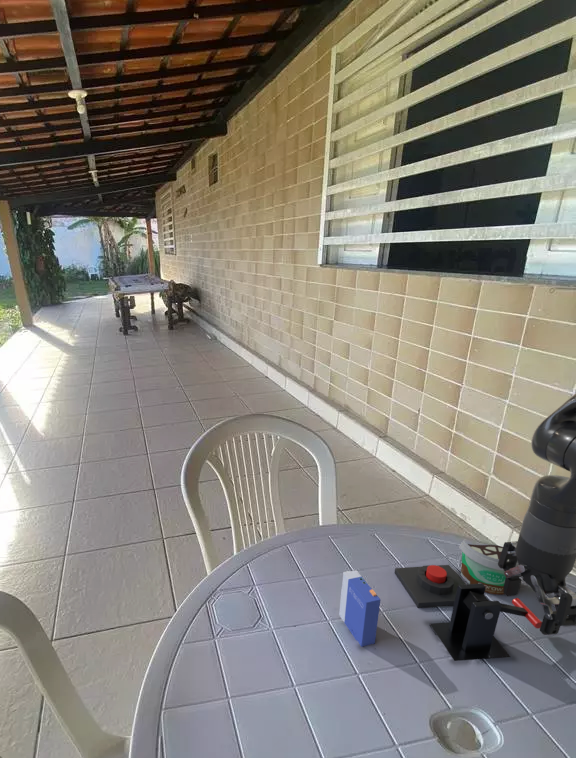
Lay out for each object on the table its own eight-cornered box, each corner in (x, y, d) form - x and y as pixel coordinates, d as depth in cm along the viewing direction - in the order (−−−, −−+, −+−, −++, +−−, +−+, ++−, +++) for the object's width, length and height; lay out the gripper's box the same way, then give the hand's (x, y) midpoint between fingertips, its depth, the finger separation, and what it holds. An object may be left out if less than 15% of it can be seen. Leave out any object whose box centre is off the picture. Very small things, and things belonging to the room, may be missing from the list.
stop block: (447, 572, 94) (450, 557, 93) (476, 607, 85) (480, 592, 83) (393, 575, 94) (395, 561, 93) (417, 611, 85) (420, 596, 83)
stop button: (439, 571, 90) (440, 564, 89) (449, 583, 86) (450, 576, 86) (422, 572, 90) (423, 565, 89) (431, 584, 86) (433, 577, 86)
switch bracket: (479, 624, 81) (492, 576, 77) (510, 662, 74) (525, 611, 69) (428, 628, 81) (437, 579, 77) (453, 666, 74) (465, 615, 69)
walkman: (374, 648, 78) (381, 597, 73) (360, 651, 77) (366, 601, 73) (351, 614, 85) (356, 567, 81) (338, 617, 85) (342, 570, 80)
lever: (515, 606, 78) (522, 596, 77) (539, 631, 73) (546, 621, 72) (457, 594, 77) (463, 584, 76) (477, 618, 71) (484, 608, 71)
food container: (462, 597, 87) (471, 558, 84) (452, 576, 93) (460, 539, 89) (531, 606, 84) (543, 566, 81) (517, 584, 90) (528, 545, 86)
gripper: (613, 566, 62) (584, 646, 68) (537, 511, 76) (518, 581, 82) (563, 570, 62) (538, 649, 68) (495, 514, 76) (479, 584, 82)
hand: (527, 612), depth 75 cm, fingers open, 8 cm apart
